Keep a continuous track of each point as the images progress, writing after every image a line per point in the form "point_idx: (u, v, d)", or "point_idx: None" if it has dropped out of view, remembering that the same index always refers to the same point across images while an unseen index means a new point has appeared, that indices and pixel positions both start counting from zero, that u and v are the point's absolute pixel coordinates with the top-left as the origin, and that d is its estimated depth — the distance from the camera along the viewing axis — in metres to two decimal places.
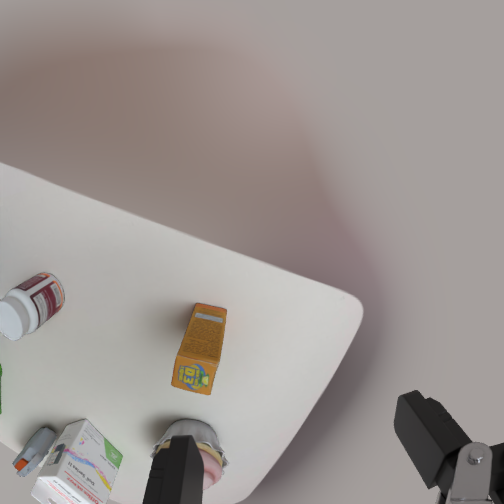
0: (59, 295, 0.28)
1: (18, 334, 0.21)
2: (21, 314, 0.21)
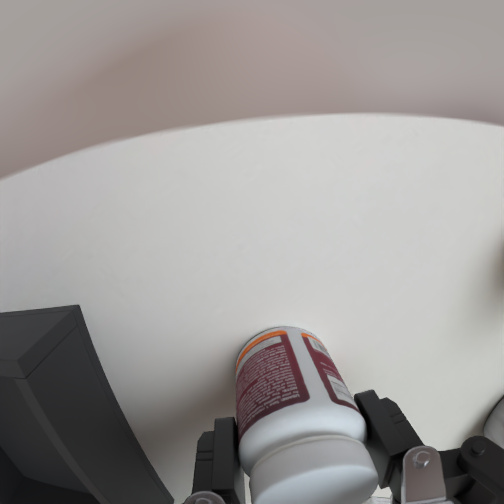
0: (328, 354, 0.14)
1: (362, 499, 0.07)
2: (366, 458, 0.07)
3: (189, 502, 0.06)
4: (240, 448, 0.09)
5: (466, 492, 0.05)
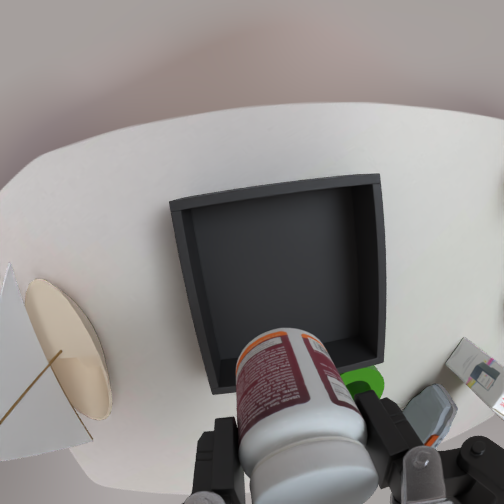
0: (328, 355, 0.14)
1: (362, 499, 0.07)
2: (365, 458, 0.07)
3: (189, 502, 0.06)
4: (240, 449, 0.09)
5: (466, 492, 0.05)
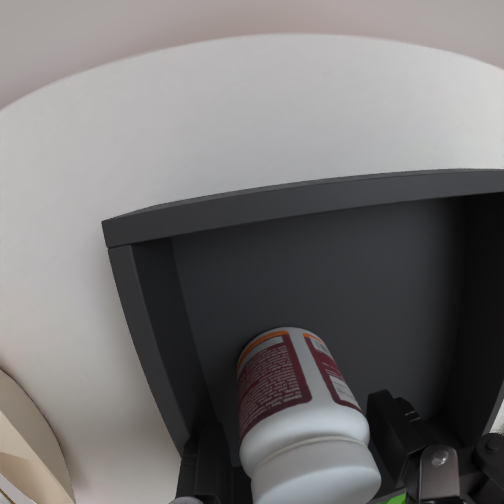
0: (330, 354, 0.13)
1: (364, 500, 0.07)
2: (368, 459, 0.07)
3: None
4: (242, 449, 0.09)
5: (479, 489, 0.05)
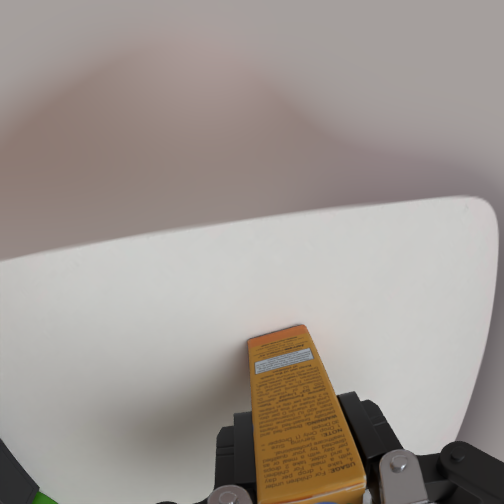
0: None
1: None
2: None
3: (214, 495, 0.07)
4: None
5: (449, 497, 0.06)
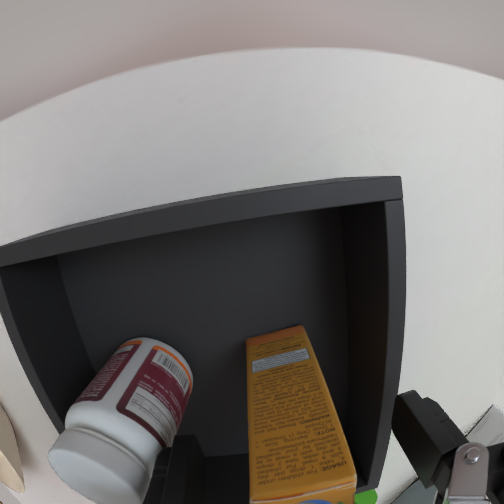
0: (179, 369, 0.14)
1: (132, 501, 0.08)
2: (115, 463, 0.08)
3: None
4: None
5: (503, 487, 0.05)
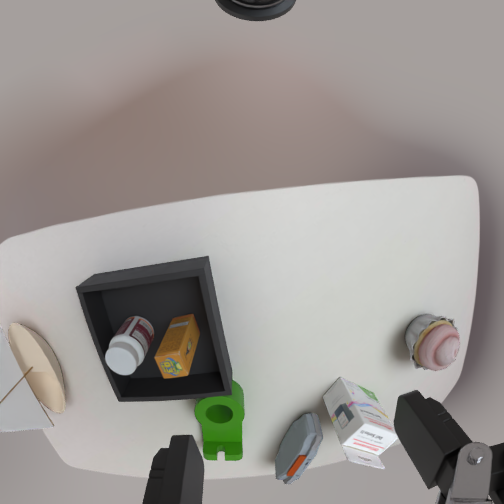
0: (148, 326, 0.39)
1: (133, 366, 0.32)
2: (129, 349, 0.32)
3: None
4: (109, 347, 0.34)
5: None
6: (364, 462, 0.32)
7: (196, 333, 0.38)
